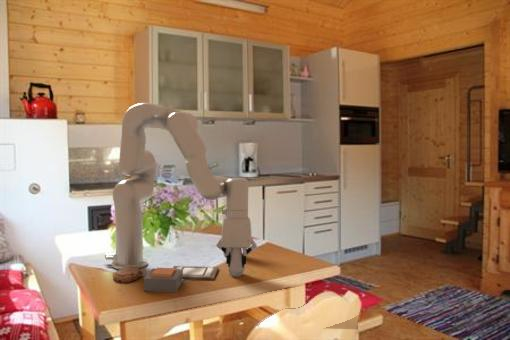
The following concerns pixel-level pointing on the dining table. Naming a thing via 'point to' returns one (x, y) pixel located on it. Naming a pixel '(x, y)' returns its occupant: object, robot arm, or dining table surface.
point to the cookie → (127, 275)
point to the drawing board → (198, 272)
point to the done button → (164, 272)
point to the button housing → (163, 282)
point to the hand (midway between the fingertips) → (236, 265)
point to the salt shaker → (236, 263)
